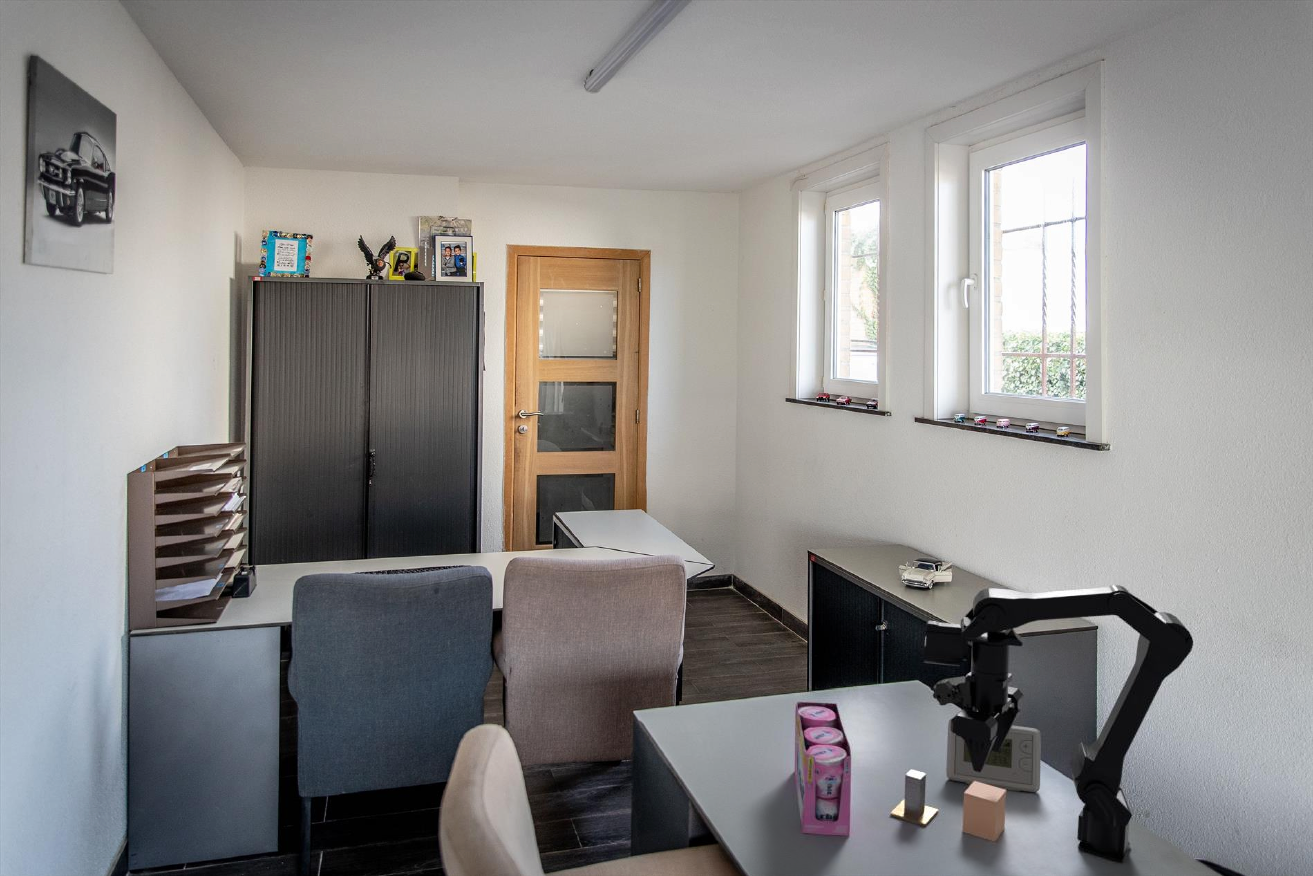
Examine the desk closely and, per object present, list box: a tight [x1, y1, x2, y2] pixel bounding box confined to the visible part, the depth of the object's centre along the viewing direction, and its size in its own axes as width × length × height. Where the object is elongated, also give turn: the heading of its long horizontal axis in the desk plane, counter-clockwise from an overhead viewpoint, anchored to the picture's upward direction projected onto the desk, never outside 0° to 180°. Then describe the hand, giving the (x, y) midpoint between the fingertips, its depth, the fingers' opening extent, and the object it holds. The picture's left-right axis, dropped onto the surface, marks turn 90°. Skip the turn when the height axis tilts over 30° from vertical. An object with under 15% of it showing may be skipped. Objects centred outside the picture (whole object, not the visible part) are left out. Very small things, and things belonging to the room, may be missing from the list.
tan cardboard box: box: [962, 781, 1007, 842], centre depth 150 cm, size 5×5×7 cm
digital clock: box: [946, 718, 1042, 793], centre depth 167 cm, size 16×9×11 cm, turn 60°
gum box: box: [794, 701, 852, 837], centre depth 158 cm, size 24×8×14 cm, turn 175°
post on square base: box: [889, 769, 939, 828], centre depth 155 cm, size 6×6×7 cm
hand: (986, 761), depth 150 cm, fingers open, 9 cm apart
